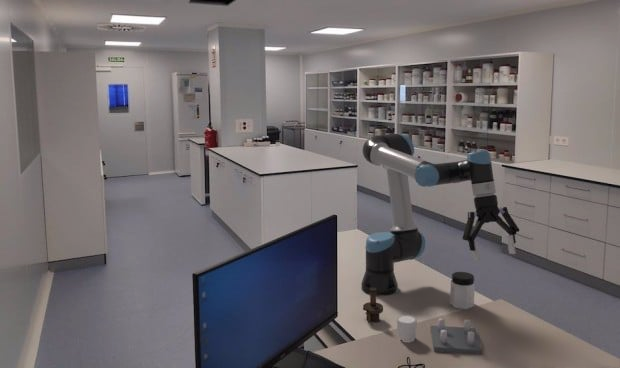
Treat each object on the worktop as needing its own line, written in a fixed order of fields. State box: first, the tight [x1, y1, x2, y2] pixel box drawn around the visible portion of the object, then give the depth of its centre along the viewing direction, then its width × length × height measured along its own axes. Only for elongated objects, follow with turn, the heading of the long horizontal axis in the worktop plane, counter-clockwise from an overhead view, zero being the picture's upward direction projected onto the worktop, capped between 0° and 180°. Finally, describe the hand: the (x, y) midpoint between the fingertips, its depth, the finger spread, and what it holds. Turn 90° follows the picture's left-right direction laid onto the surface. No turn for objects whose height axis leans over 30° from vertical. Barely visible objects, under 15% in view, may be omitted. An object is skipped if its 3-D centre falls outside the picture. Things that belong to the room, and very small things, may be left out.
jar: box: [449, 271, 476, 310], centre depth 194 cm, size 9×8×12 cm
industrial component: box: [362, 288, 384, 323], centre depth 183 cm, size 9×7×12 cm
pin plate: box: [430, 317, 484, 355], centre depth 166 cm, size 15×15×6 cm
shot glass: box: [396, 314, 418, 341], centre depth 169 cm, size 7×7×7 cm
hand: (494, 256), depth 172 cm, fingers open, 13 cm apart
